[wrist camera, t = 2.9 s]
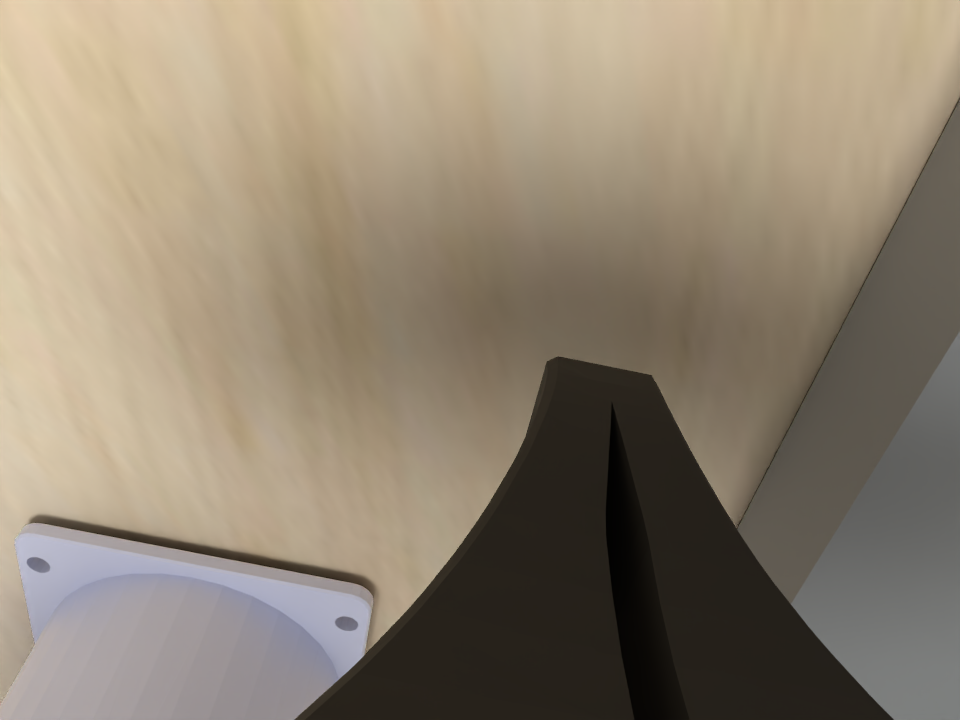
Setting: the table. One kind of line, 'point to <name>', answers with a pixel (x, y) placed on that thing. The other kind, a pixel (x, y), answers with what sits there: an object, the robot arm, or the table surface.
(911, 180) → the table surface
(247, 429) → the table surface
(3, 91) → the table surface
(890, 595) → the switch panel
